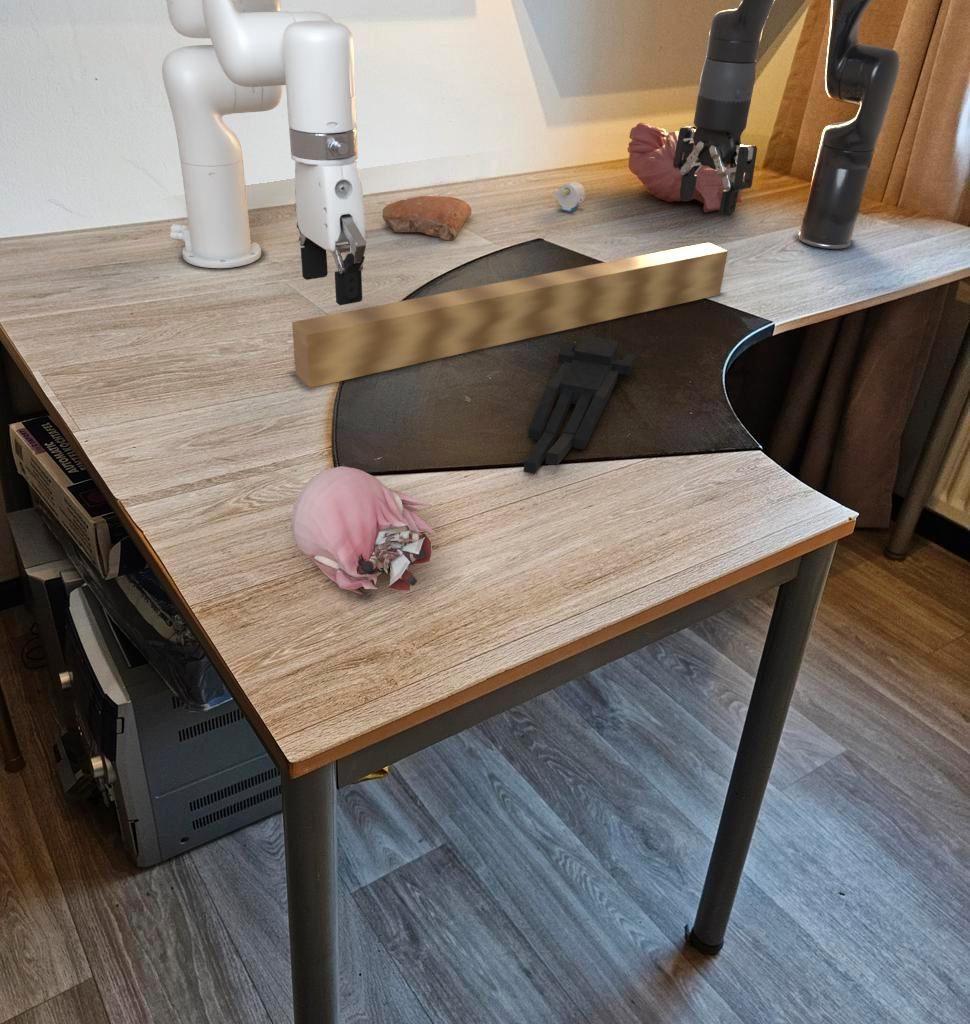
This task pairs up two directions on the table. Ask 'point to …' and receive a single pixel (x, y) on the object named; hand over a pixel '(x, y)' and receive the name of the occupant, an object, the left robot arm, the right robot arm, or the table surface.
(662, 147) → the fabric sculpture
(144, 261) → the table surface
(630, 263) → the bar
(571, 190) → the electric motor
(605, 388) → the toy
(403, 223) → the ceramic shard
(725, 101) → the right robot arm
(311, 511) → the pink rounded lump
